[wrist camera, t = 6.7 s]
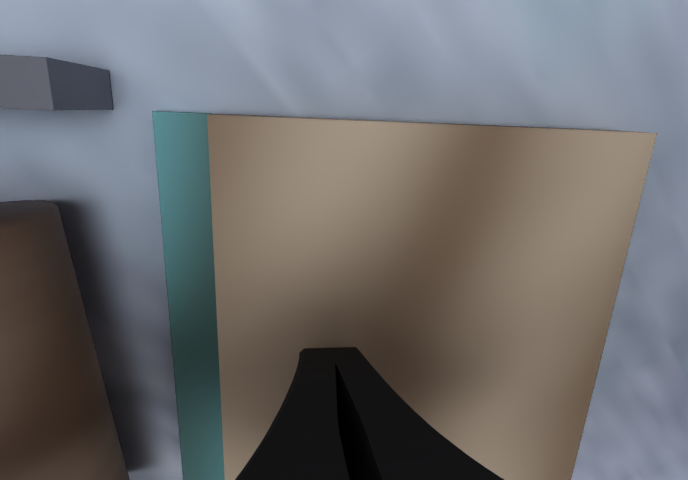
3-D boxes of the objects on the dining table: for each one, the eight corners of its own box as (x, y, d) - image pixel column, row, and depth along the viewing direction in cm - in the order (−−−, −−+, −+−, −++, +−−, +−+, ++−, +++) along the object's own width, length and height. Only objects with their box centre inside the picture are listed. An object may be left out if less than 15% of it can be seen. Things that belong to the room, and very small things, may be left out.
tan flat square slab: (618, 130, 11) (657, 133, 10) (537, 496, 14) (558, 529, 13) (156, 111, 9) (138, 111, 8) (189, 523, 13) (180, 563, 12)
